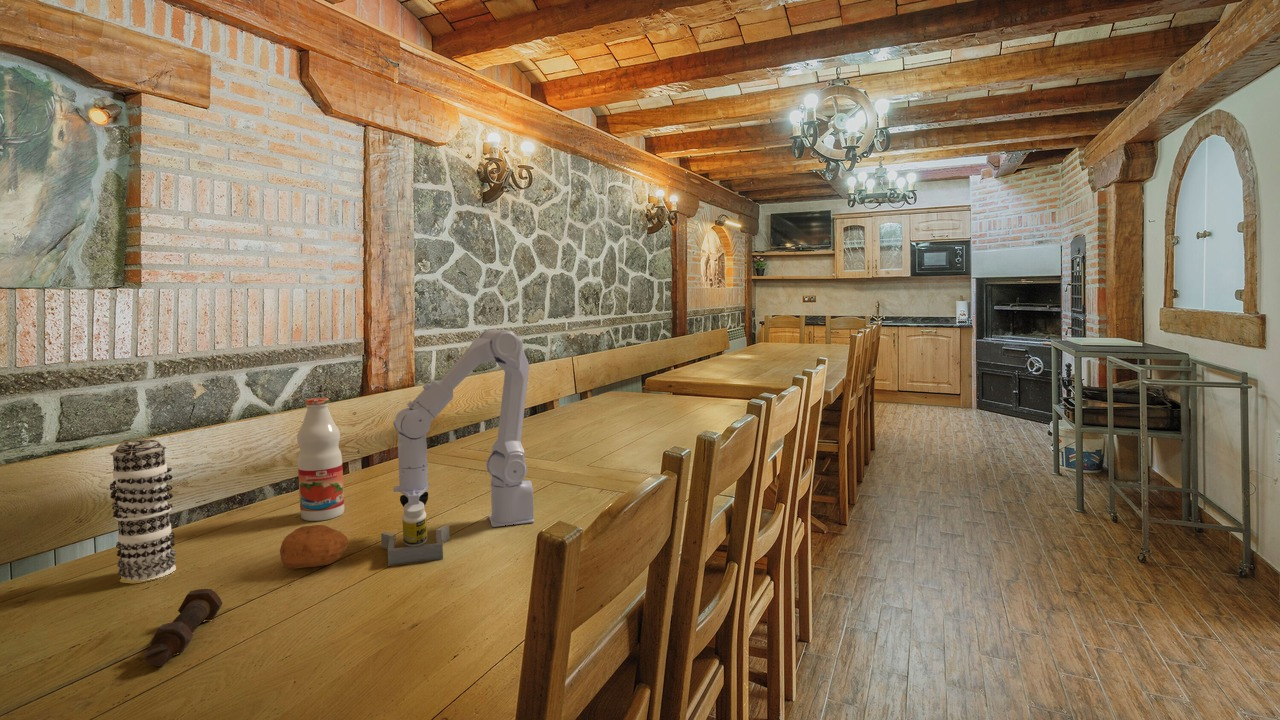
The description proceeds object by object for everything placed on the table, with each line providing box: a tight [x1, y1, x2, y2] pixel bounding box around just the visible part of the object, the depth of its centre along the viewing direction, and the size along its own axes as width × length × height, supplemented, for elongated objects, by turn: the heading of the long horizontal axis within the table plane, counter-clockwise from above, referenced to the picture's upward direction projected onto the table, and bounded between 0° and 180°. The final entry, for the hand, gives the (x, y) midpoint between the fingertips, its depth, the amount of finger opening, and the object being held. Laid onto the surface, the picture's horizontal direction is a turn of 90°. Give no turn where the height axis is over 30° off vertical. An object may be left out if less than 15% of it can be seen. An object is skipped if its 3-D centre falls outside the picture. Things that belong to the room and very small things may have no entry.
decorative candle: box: [109, 439, 177, 581], centre depth 117 cm, size 9×9×25 cm
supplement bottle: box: [401, 501, 428, 547], centre depth 131 cm, size 5×5×8 cm
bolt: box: [143, 588, 223, 667], centre depth 94 cm, size 6×5×15 cm
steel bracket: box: [380, 524, 450, 567], centre depth 128 cm, size 13×11×3 cm
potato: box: [279, 524, 349, 569], centre depth 122 cm, size 9×11×8 cm
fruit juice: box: [296, 397, 345, 522], centre depth 150 cm, size 9×9×28 cm
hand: (415, 528), depth 135 cm, fingers closed
